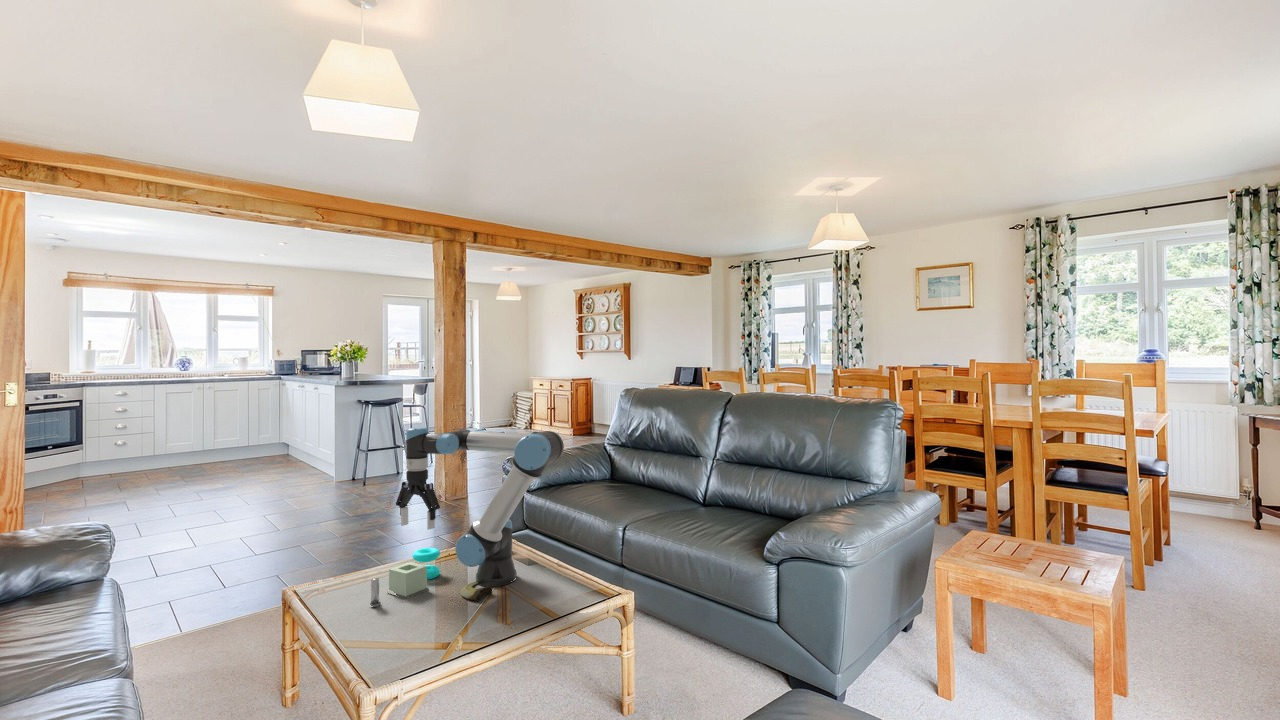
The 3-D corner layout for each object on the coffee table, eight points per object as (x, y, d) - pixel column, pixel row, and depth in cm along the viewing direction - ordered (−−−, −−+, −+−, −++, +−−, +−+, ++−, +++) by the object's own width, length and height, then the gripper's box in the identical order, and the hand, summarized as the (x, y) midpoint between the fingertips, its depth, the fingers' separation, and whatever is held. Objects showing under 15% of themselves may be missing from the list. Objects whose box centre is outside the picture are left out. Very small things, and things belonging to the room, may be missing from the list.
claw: (495, 600, 203) (495, 590, 203) (465, 605, 199) (465, 595, 199) (483, 583, 221) (483, 574, 221) (455, 588, 216) (455, 578, 216)
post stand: (382, 604, 198) (383, 578, 199) (373, 608, 195) (373, 581, 195) (376, 602, 200) (376, 576, 200) (366, 606, 197) (366, 579, 197)
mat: (428, 589, 212) (428, 588, 212) (405, 599, 203) (405, 597, 203) (410, 584, 217) (410, 583, 217) (386, 593, 208) (386, 591, 208)
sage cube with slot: (426, 588, 212) (426, 566, 212) (405, 596, 204) (405, 573, 204) (410, 583, 216) (410, 562, 217) (388, 591, 209) (389, 569, 209)
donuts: (443, 551, 225) (415, 556, 219) (442, 577, 224) (415, 583, 219) (436, 545, 233) (410, 549, 228) (436, 570, 233) (410, 575, 227)
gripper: (385, 469, 219) (385, 525, 219) (433, 473, 208) (434, 532, 208) (401, 466, 226) (402, 521, 226) (449, 469, 215) (450, 527, 214)
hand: (417, 526), depth 217 cm, fingers open, 13 cm apart
